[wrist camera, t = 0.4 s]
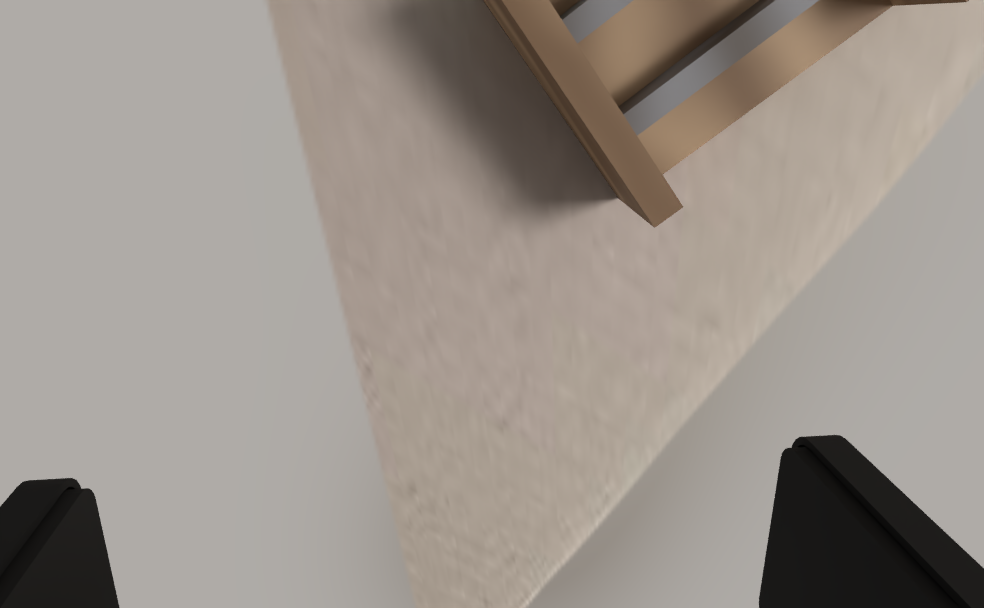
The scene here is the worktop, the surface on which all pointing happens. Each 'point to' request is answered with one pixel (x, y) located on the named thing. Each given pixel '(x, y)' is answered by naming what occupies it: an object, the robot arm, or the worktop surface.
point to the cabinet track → (669, 72)
